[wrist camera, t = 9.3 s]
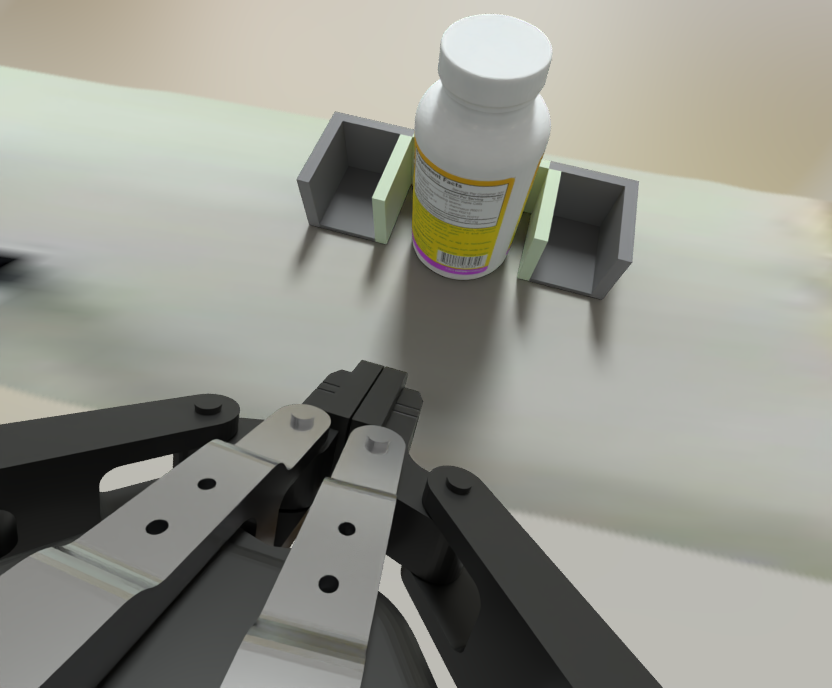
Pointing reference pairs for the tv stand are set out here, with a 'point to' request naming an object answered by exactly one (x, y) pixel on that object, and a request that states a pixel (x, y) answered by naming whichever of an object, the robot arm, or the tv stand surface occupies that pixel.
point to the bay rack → (547, 202)
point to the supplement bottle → (479, 143)
